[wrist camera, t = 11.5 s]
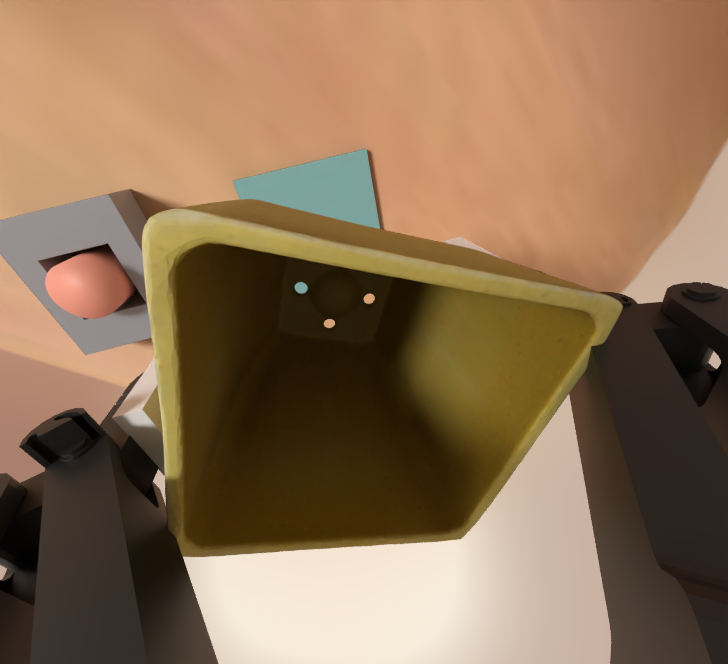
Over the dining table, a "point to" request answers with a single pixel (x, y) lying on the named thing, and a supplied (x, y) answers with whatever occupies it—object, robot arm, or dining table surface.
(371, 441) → the flower pot
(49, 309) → the housing
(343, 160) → the pad
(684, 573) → the robot arm
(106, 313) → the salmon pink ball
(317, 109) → the dining table surface
